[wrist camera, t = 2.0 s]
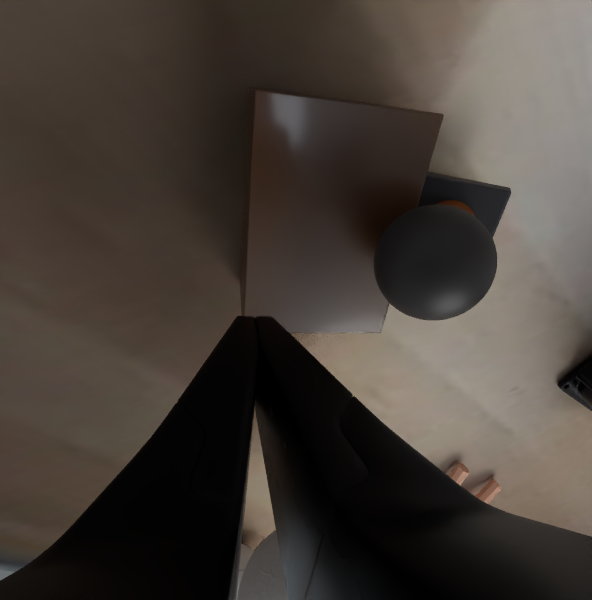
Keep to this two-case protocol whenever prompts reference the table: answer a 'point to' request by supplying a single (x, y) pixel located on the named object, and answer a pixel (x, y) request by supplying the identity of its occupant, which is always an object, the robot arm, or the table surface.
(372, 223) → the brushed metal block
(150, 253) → the table surface
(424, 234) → the ball-topped stamp
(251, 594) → the lollipop
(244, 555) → the white oval body
